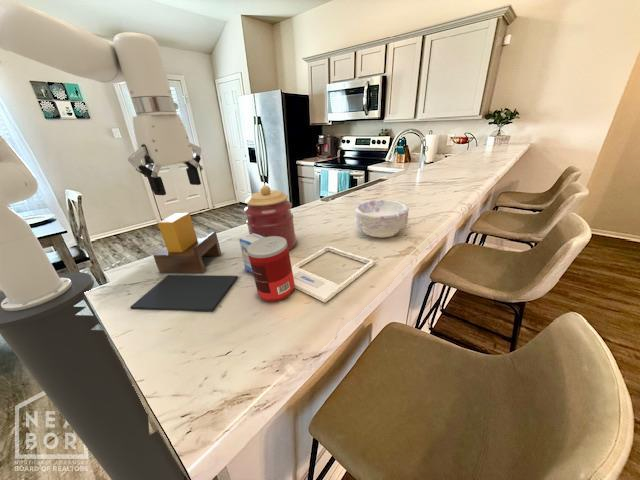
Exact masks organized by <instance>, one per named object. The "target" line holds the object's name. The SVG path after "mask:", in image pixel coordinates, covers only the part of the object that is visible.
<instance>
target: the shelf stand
mask: <svg viewBox="0 0 640 480" xmlns="http://www.w3.org/2000/svg"><path fill="white" fill-rule="evenodd" d="M197 240H198V241H196V242H195V243H194V244H192V245H191V246H190V247H189V248H187V249H186V250H185V251H183V252H168V251H167V248H166V246H164V247H163V248H162V249H160V250H159V251H157V252H156V253H154V254H153V255H152V256H153V259H154V261H155V263H156V267H157V269H158V270H157V271H158V273H163V274H165V273H167V274H169V273H170V274H203V273H205V272H206V268H205V264H204V261H203V257H220V256H221V255H222V250H221V246H220V243H219V238H218V235H217V231H215V230H214V231H212V232H210V233H209V234H208V235H207V236H206V237H201V238H200V237H197Z"/></svg>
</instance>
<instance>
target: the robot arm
mask: <svg viewBox="0 0 640 480" xmlns="http://www.w3.org/2000/svg"><path fill="white" fill-rule="evenodd" d="M0 49H1V50H3V51H7V52H11V53H14V54H16V55H19V56H21V57H23V58H27V59H29V60H32V61H35V62H38V63H40V64H42V65H45V66H48V67H51V68H54V69H55V70H59V71H62V72H64V73H67V74H70V75H72V76H76V77H79V78H84V79H88V80H91V81H95V82H99V83H103V84H108V85H118V84H124V83H125V84H126V87H127V91H128V94H129V96H130V101H131V103H132V106H133V109H134V112H135V115H136V116H132V125H133V132H134V138H135V142H136V146H137V150H135V151H134V152H132V154H131V155H129V156H128V157H127V161H128V162H129V163H130V164H131V165H132V167H133V168H135V170H136V171H137V172H138V173H140V174H142V175H143V176H144V177H145V178H147V180H148V182H149V186H150V188H151V191H152V192H153V194H154V196H166V195H167V192H166V188H165V185H164V181H163V179H162V177H161V176H158V175H159V173H160V170H161V168H162V167H167V166H172V165H177V164H181V163H183V164H184V165H185V166H186V168H185V169H186V175H187V179H188V181H189V184H190V185H191V186H200V185H201V184H202V183H201V178H200V173H199V170H198V169H199V167H200V161H201V159H202V157H201V155H202V147H200V146H198V145H195V144H193V143H192V142H191V141H190V138H189V135H188V132H187V130H186V127H185V123H184V122H183V120H182V117H181V115H180V114H178V113H177V110H178V109H179V105H178V103H177V102H174V98H173V93H172V90H171V85H170V83H169V79H168V75H167V71H166V67H165V63H164V59H163V57H162V53H161V49H160V45H159V43H158V41H157V40H156V39H155V38H153V37H152V36H151V35H148V34H145V33H141V32H134V31H133V32H132V31H125V32H120V33H117V34H115V35H114V36H113V39H112V40H109V39H106V38H103V37H100V36H98V35H96V34H94V33H92V32H91V31H88V30H86V29H84V28H82V27H80V26H78V25H75V24H73V23H71V22H68V21H66V20H63V19H62V18H59V17H56V16H54V15H53V14H52V15H51V14H49V13H47V12H44V11H42V10H39V9H37V8H34V7H32V6H30V5H27V4H25V3H22V2H20V1H17V0H0ZM38 188H39V183H38V181H37V177H36V176H35V174H34V172H32V170H31V168H30V167H29V166H28V165H27V164H26V162H25V161H24V160H23V159H22V158H21V157H20V156H19V154H18V153H17V152H16V150H14V148H13V147H12V146H11V145H10V143H9V142H8V141H7V140H6V139H5V137H4V136H3V135H2V134H1V133H0V292H2V293H3V295H6V298H5V299H4V300H3V301H2V303H1V307H2V308H3V309H4V310H6V311H19V310H24V309H28V308H31V307H35V306H38V305H40V304H43V303H46V302H48V301H50V300H52V299H54V298H56V297H58V296H60V295H61V294H63V293H64V292H66V291H67V290H68V289H69V288H70V287H71V285H72V282H71V281H70V279H68V278H59V276H58V275H59V274H58V273H57V270H56V269H55V267H54V265H53V263H52V262H51V260H50V259H49V256H48V255H47V253H46V251H45V249H44V248H43V246H42V245H41V243H40V241H39V239H38V237H37V236H36V234H35V232H34V231H33V229H32V227H31V225H30V224H29V222H28V221H27V220H26V219H25V218H24V217H22V215H20V214H19V213H17V212H16V211H14V210H13V209H12V208H10V205H13V204H16V203H20V202H23V201H26V200H28V199H30V198H32V197H34V196H35V195H36V193H37V192H38Z"/></svg>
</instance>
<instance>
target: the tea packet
mask: <svg viewBox="0 0 640 480" xmlns="http://www.w3.org/2000/svg"><path fill="white" fill-rule="evenodd" d="M157 225H158V229H159V231H160V234H161V237H162V240H163V242H164V246H165V247H166V248H167V251H168V252H183V251H185V250H186V249H187V248H189V247H190V246H191V245H192V244H194V243H195V242H196V241H198V240H197V238H198V237H197V233H196V230H195V227H194V224H193V220H192V216H191V213H190V212H176V213H175V212H174V213H173V214H171V215H169V216H168V217H165V218H164V219H161V220H160V221H158V222H157Z"/></svg>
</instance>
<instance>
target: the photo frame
mask: <svg viewBox="0 0 640 480" xmlns="http://www.w3.org/2000/svg"><path fill="white" fill-rule="evenodd" d="M326 252H332V253H334V254H337V255H340V256H342V257H343V256H344V257H347V258H350V259H353V260H355V261H358V262H362V263H365V264H364V265H363V266H362V267H361V268H359V269H358V270H357V271H356V272H354V273H353V274H351V275H350V276H349V277H347V278H346V279H345V280H344V281H342V282H341V283H339V284H338V283H336V282H334V281H331V280H328V279H327V278H324V277H322V276H319V275H317V274H314V273H313V272H310V271H307V270H305V269H302V268H301V267H303V266H305V265H306V264H307V263H309V262H310V261H313V260H314V259H316V258H317V257H319V256H321V255H322V254H324V253H326ZM374 265H375V260H373V259H371V258H367V257H363V256H361V255H358V254H354V253H351V252H348V251H344V250H342V249H338V248H335V247H332V246H330V245H326V246H325V247H323V248H321V249H319V250H318V251H316V252H314V253H311V255H308V256H307V257H305V258H304V259H302V260H300V261H299V262H296V263H295V264H293V265H291V267H292V273H293V278H294V289H297V290H298V291H300V292H301V293H302V292H303V293H304V294H307V295H309V296H310V297H313V298H315V299H317V301H318V300H319V301H321V302H323V303H324V304H326V303H327V302H328V301H329V300H331V299H332V298H333V297H335V296H336V295H337V294H339V293H340V292H341V291H342V290H343V289H345V288H346V287H347V286H349V285H350V284H351V283H352V282H354V281H355V280H356V279H357V278H359V277H360V276H361V275H363V273H365V272H366V271H367V270H369V269H370V268H371V267H373V266H374Z"/></svg>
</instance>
